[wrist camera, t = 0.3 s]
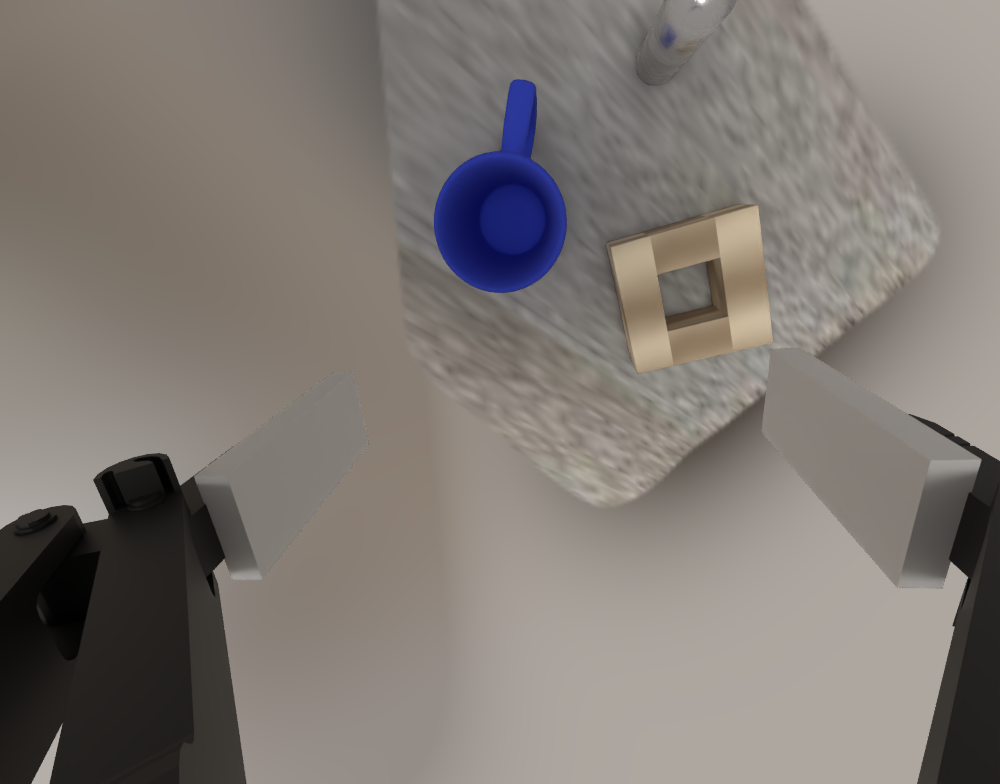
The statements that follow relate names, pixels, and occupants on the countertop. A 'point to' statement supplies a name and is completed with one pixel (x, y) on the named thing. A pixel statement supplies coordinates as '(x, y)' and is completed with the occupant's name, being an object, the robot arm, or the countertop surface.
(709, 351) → the hole block
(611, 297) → the countertop surface
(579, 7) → the countertop surface
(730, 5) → the peg
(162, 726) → the robot arm
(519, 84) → the mug
